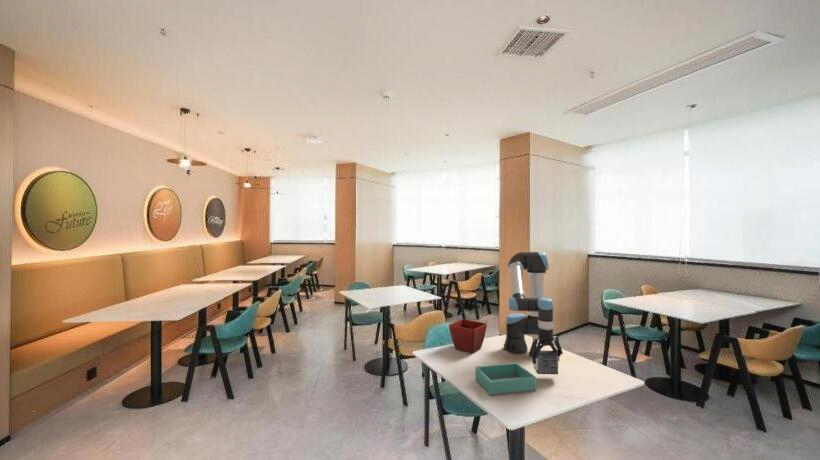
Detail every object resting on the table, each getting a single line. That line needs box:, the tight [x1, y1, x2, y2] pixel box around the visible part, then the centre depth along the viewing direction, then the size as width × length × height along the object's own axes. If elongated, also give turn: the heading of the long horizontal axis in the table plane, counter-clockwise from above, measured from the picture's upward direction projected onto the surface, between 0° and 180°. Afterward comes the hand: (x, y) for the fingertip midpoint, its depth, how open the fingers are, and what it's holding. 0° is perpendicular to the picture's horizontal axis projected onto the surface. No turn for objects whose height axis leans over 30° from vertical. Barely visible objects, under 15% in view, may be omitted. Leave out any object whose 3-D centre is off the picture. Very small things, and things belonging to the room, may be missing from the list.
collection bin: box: [475, 362, 537, 397], centre depth 169 cm, size 24×18×7 cm
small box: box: [535, 350, 559, 375], centre depth 176 cm, size 11×6×10 cm, turn 84°
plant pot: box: [448, 318, 488, 354], centre depth 221 cm, size 19×19×17 cm
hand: (545, 368), depth 176 cm, fingers closed on small box, 11 cm apart
